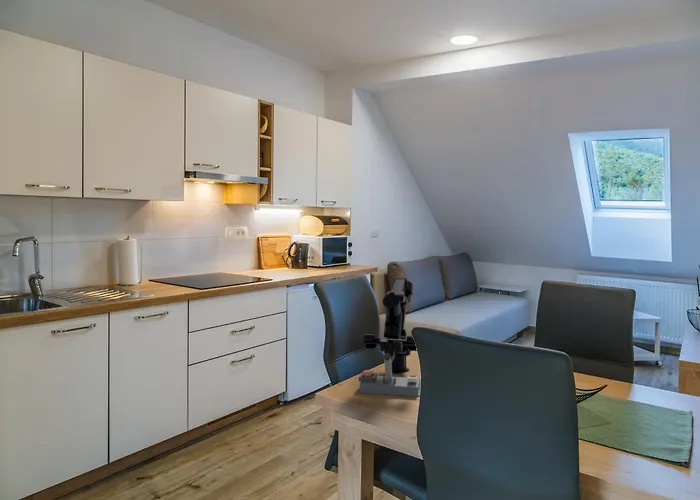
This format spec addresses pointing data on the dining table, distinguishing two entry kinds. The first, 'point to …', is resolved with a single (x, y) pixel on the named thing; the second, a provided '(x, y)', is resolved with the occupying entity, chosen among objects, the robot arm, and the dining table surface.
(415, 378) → the rocker switch
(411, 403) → the dining table surface
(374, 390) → the panel
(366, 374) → the push button
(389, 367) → the toggle lever
